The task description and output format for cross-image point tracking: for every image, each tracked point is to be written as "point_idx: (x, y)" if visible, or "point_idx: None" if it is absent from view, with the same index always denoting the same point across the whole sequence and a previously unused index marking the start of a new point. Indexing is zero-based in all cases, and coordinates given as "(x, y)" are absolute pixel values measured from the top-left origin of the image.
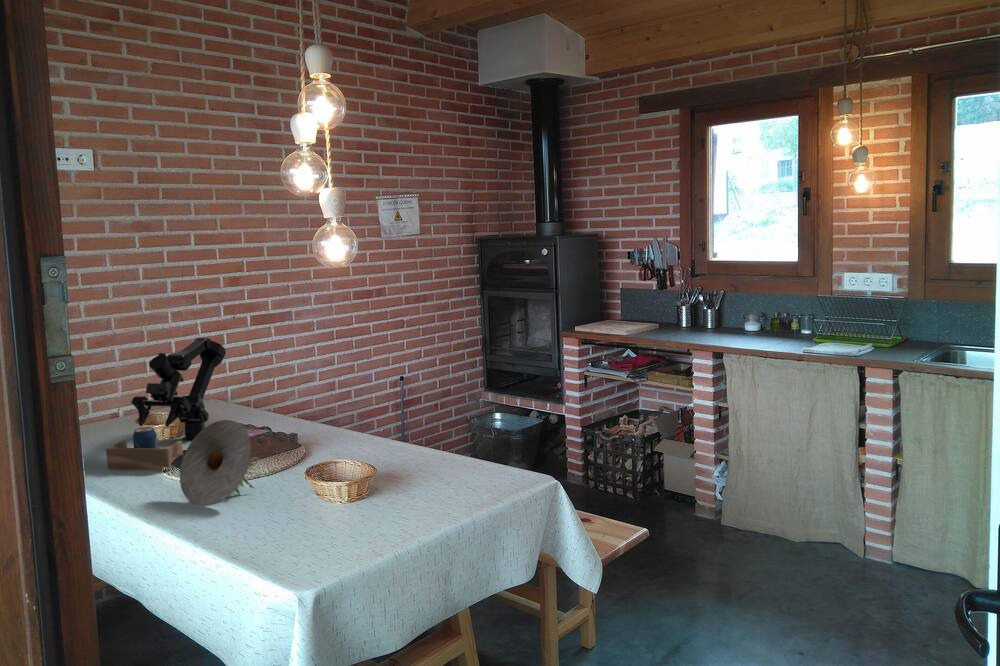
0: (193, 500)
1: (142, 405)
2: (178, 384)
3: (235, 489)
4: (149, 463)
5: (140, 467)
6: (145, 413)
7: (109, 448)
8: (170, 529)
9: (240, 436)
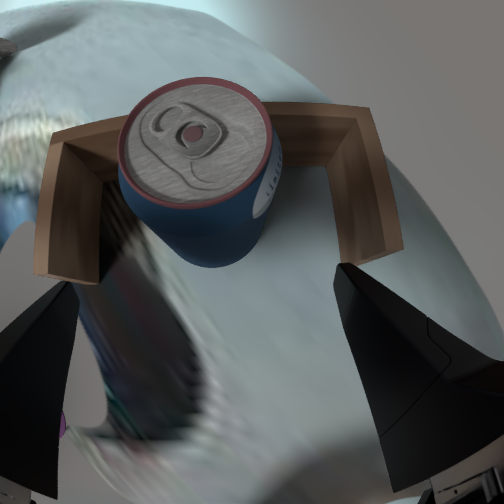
0: (7, 54)
1: (495, 410)
2: None
3: None
4: None
5: None
6: (401, 417)
7: (351, 106)
8: (34, 7)
9: None
